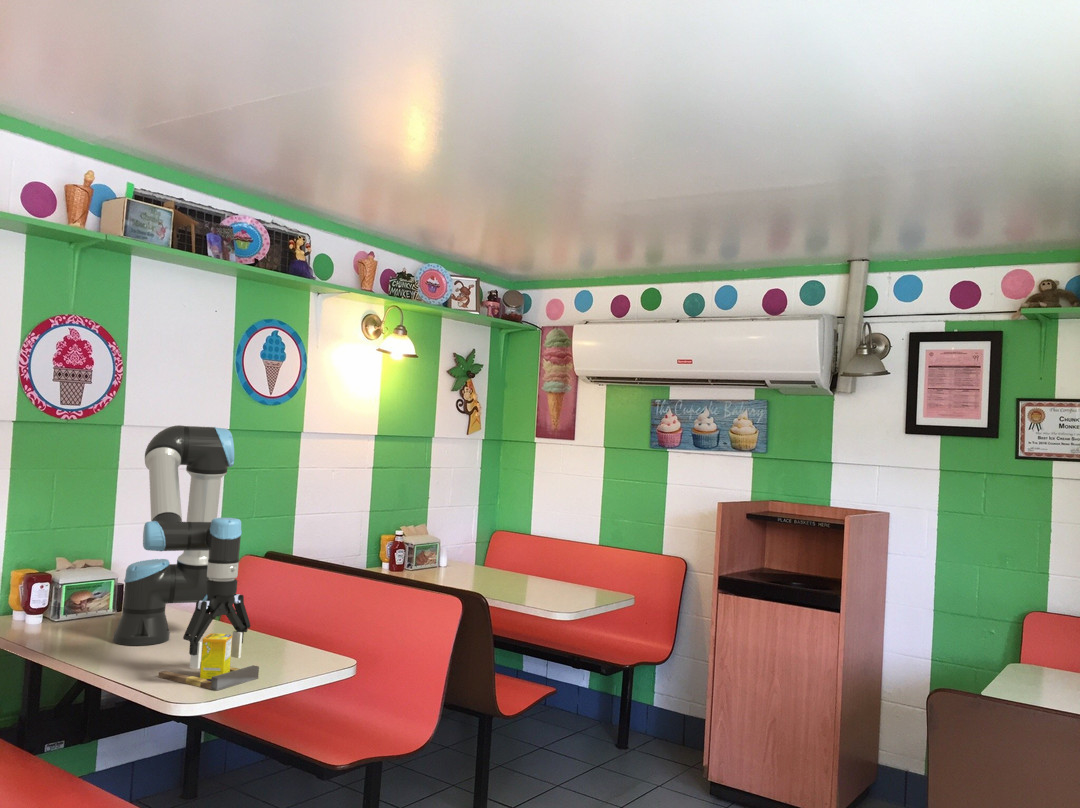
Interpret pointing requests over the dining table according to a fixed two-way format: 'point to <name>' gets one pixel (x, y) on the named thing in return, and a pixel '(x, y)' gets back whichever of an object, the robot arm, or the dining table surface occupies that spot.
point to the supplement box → (215, 655)
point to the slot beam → (216, 678)
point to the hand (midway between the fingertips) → (215, 662)
